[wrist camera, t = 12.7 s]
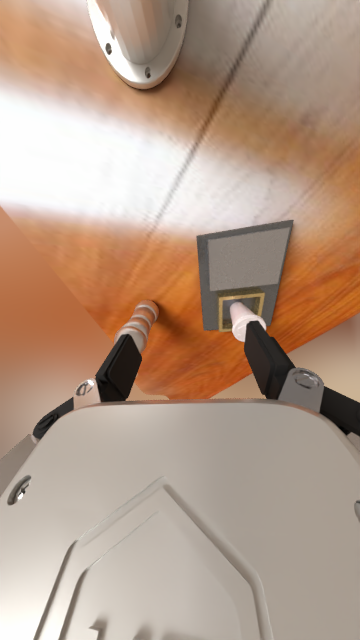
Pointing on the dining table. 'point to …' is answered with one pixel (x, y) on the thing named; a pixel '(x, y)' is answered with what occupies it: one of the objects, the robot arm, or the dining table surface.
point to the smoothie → (242, 319)
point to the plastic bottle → (140, 323)
